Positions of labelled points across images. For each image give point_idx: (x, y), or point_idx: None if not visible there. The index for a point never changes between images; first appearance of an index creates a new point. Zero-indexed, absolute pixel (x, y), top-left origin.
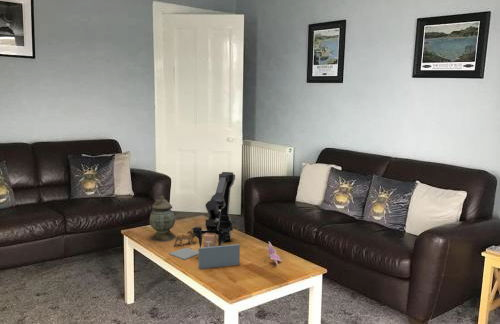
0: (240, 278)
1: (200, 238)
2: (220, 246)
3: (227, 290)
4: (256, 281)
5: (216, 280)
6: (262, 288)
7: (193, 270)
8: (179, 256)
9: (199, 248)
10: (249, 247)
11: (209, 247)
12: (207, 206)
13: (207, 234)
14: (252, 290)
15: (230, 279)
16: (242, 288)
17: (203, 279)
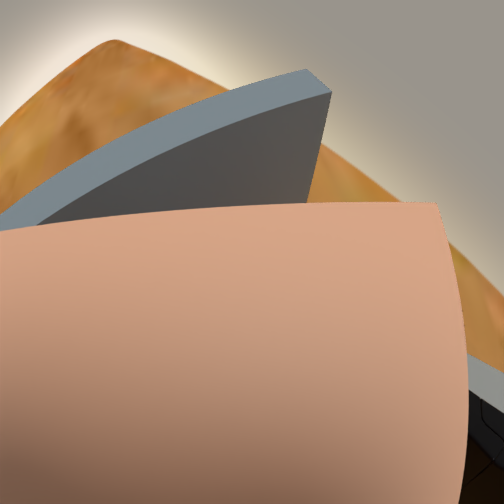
0: (45, 152)
1: (477, 432)
2: (25, 206)
3: (111, 62)
4: (5, 152)
5: (149, 100)
6: (10, 116)
7: (318, 175)
8: (498, 378)
9: (307, 76)
10: None
11: (171, 123)
12: None
13: (312, 468)
14: (39, 94)
15: (85, 128)
16: (61, 90)
17: (215, 92)
